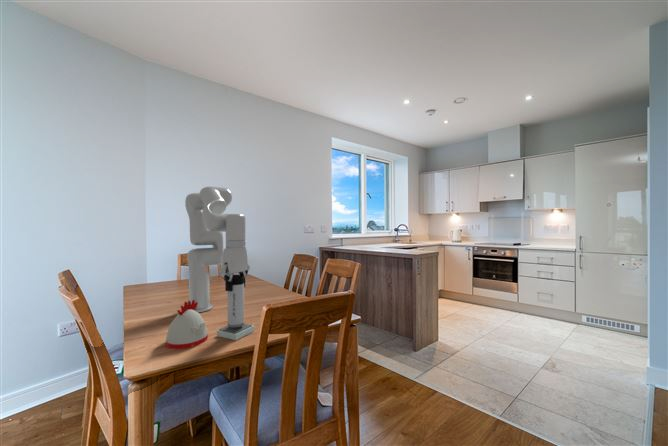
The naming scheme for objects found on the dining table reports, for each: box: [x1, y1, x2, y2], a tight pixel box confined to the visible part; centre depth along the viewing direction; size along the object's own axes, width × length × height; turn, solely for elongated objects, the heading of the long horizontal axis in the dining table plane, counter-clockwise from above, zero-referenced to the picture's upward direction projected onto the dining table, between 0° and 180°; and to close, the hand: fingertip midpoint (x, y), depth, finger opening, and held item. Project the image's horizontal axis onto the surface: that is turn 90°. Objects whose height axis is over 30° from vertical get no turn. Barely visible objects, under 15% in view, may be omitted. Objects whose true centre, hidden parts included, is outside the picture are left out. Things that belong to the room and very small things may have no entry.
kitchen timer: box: [165, 300, 209, 350], centre depth 105 cm, size 14×14×15 cm
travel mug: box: [227, 274, 245, 328], centre depth 112 cm, size 6×7×20 cm
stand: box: [216, 323, 255, 341], centre depth 112 cm, size 10×10×2 cm
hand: (235, 288), depth 112 cm, fingers closed on travel mug, 6 cm apart
